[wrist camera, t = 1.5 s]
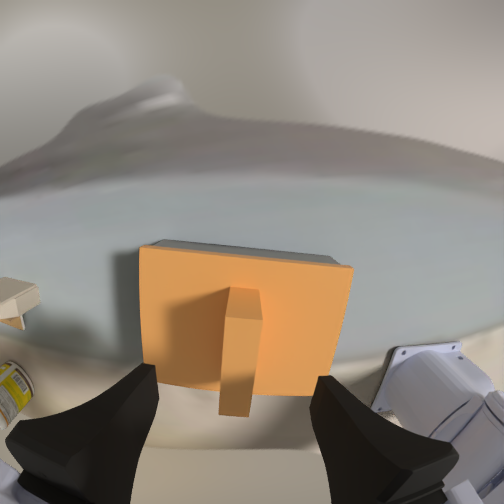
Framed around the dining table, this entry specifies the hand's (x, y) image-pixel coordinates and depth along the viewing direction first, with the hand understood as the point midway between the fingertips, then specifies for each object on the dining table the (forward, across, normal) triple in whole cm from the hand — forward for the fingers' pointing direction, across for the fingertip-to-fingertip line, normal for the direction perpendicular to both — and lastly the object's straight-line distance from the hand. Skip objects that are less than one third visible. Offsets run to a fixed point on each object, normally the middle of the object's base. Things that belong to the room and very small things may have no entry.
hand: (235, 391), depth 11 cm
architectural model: (+11, +22, +2) cm, 24 cm away
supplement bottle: (+10, +27, +15) cm, 32 cm away
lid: (+7, 0, 0) cm, 7 cm away
